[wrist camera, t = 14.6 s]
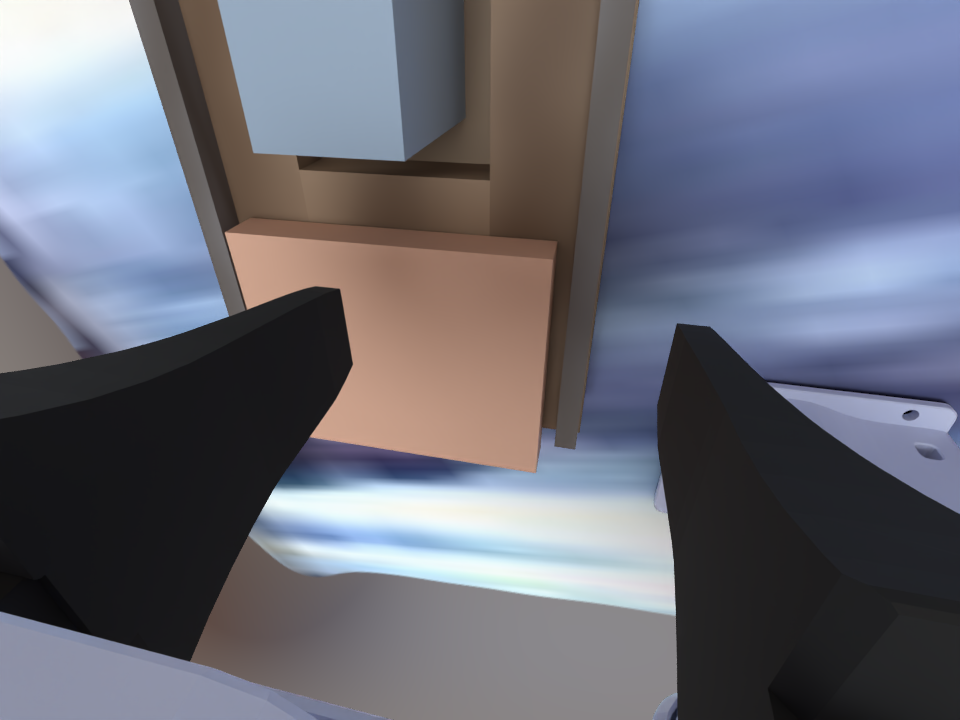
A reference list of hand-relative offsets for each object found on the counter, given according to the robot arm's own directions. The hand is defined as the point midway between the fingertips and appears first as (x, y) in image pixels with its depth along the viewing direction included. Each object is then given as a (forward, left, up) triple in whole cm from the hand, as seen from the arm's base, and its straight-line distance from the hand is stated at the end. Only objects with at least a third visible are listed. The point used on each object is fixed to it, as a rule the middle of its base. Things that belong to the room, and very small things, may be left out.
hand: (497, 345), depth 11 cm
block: (+5, -5, -9) cm, 11 cm away
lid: (+5, +5, -7) cm, 9 cm away
